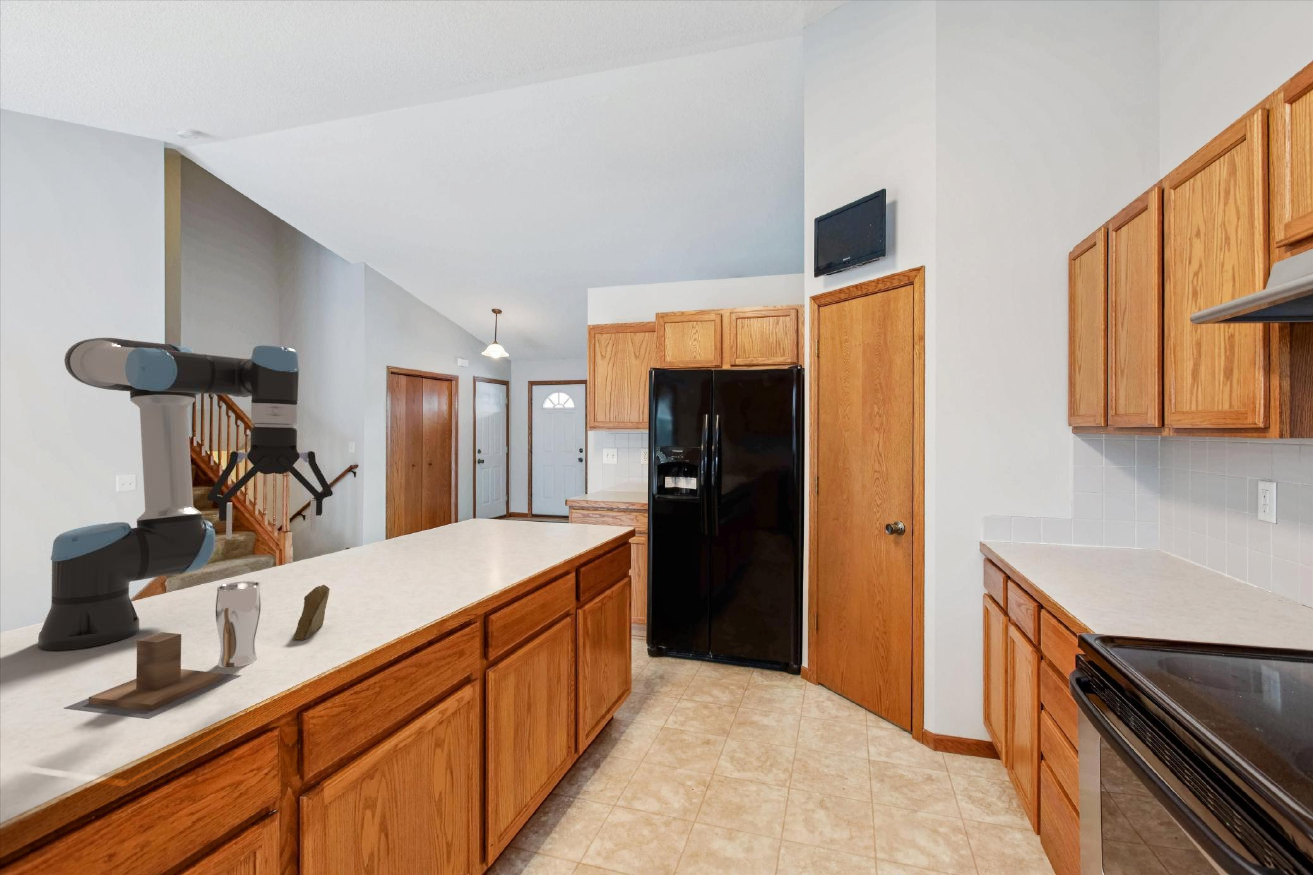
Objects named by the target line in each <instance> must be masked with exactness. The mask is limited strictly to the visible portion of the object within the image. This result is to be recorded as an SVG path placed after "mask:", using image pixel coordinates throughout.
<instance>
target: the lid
mask: <svg viewBox="0 0 1313 875" xmlns="http://www.w3.org/2000/svg"><path fill="white" fill-rule="evenodd" d="M181 667H182V633H173V632H166V631H165V632H158V633H155V634H152V635H149V636H145V637H143V638H140V639H137V640H136V676H135V677H136V678H134V679H131V680H129V681H127V682H123V683H121V684H119V685H116V686H113V687H112V688H111V687H110V688H108V689H106V690H103V691H100V692H98V693H96V694H94V695H91V696H88V698H89V703H90V704H98V705H106V706H114V707H122V708H131V709H139V710H147V711H153V710H155V709H157V708H159V707H162V706H164V705H166V704H168V703H170V702H173V701H175V700H177V699H179V698H181V697H184V696H186V695H188V694H190V693H192V692H195V691H197V690H199V689H201V688H203V687H206V686H208V685H210V684H212V683H214V682H217V681H219V680H221V679H222V672H214V671H205V670H204V671H205V672H204V671H202V670H196V671H195V670H194V669H185V668H181Z"/></svg>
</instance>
